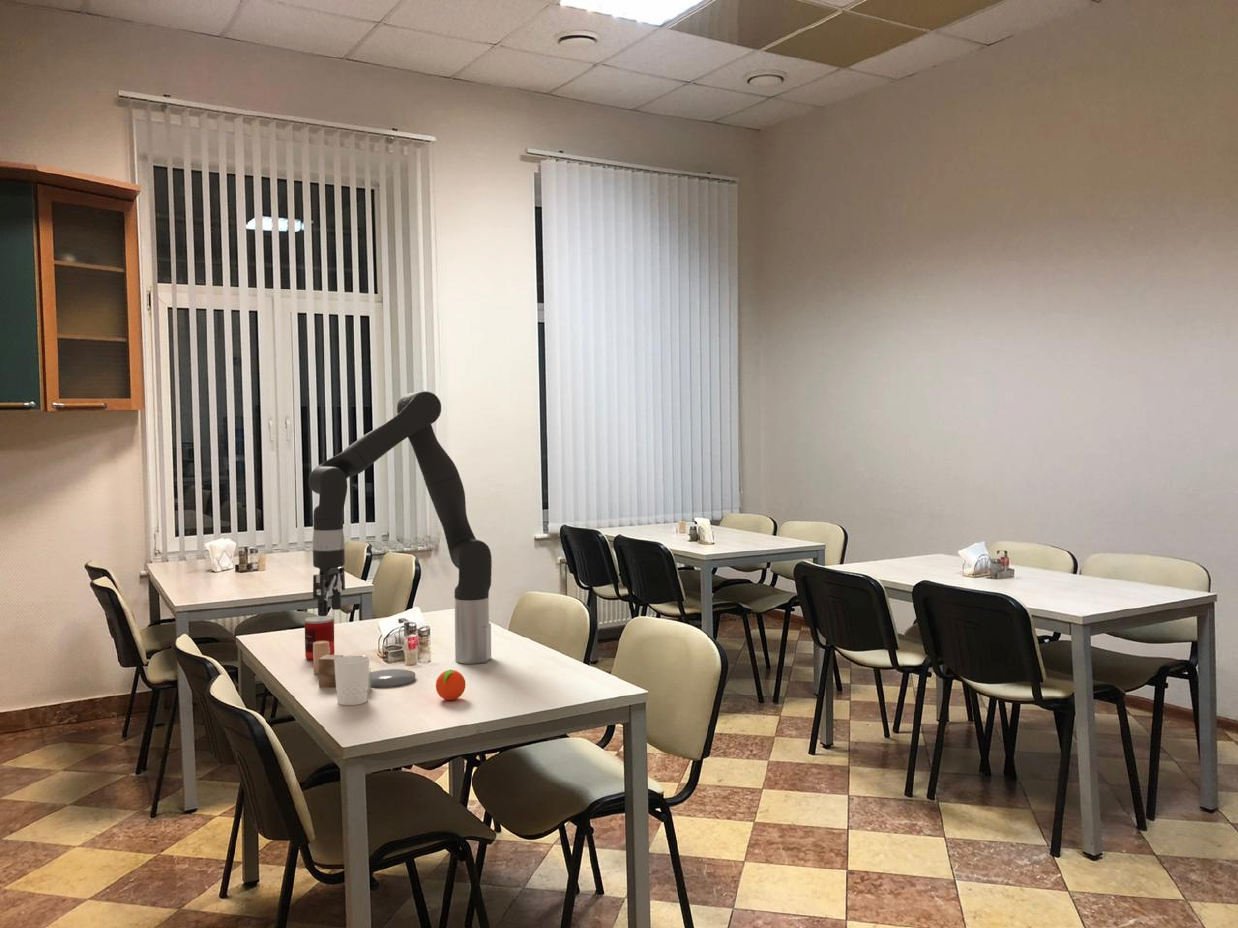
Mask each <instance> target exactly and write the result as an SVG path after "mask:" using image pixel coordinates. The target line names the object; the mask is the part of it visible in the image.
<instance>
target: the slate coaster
mask: <svg viewBox="0 0 1238 928" xmlns="http://www.w3.org/2000/svg"><path fill="white" fill-rule="evenodd" d="M415 681H416V673H415V672H414V671H413V670H408V669H401V668H400V669H399V668H397V669H395V668H391V669H389V668H387V669H380V670H379V669H378V670H375V671H371V688H372V687H373V688H395V687H401V686H406V685H409V684H411V683H413V682H415Z"/></svg>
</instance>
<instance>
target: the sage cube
mask: <svg viewBox="0 0 1238 928" xmlns="http://www.w3.org/2000/svg"><path fill="white" fill-rule="evenodd" d="M371 672H372V670H371V668H370V667H369V683H368V695H369V694H370V692H371V689H372V687H371Z"/></svg>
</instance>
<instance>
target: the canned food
mask: <svg viewBox="0 0 1238 928" xmlns="http://www.w3.org/2000/svg"><path fill="white" fill-rule="evenodd" d="M334 621H335V618H334V616H331V615H327V616H319V615H315V616H310V617H306V618H305V619H304V652H305V653H304V655H305V659H306V660H308V661H311V662H313V643H314V642H316V641H329V655H335V622H334Z"/></svg>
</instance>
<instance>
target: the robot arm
mask: <svg viewBox="0 0 1238 928" xmlns="http://www.w3.org/2000/svg"><path fill="white" fill-rule="evenodd" d="M441 412H442V403H441V400H440V398H439V397H438V395H436V394H435V393H433V392H431V391H428V390H426V391H425V390H420V391H416V392H409V393H406V394H404V395H402V396H401V397H400V398H399V400H398V401H397V407H396V413H397V414H396V415H395V416H394V417H393V418H390V419H389V420H388V421H386V422H385V423H383V424H381V425H380V426H378V427H377V428H376V427H375V428H374V429H373V430H371V431H369V432H367V433H366V434H364V435H362V436H361V437H360V438H358V439H357V440H356V441H354V442H352V444H350V445H349V446H348V447H346V448H345V449H343V450H342V451H341V452H340V453H338V454H337V455H335V456H332V457H331V458H329V459H327V460H326V461H323V462H322V463H320V464H319V465H317V466H316V467H315V468H314V469H313V470H312V471H311V472H310V474H309V476H308V480H307V481H308V482H307V484H308V486H309V488H310V489H311V491H312V492H313V493H315V494H317V495H319V503H318V505H317V506H316V507H315V508H314V510H313V533H312V566H313V567H314V568H315V569H319V574H313V576H312V598H313V600H316V601H317V616H329V611H328V610H329V609H328V607H329V605H328V598H329V595H330V594H331V609H332V610H333V611H338V610H341V609H342V594H343V591H346V590H345V589H346V583H345V581H346V580H345V579H346V578H345V577H346V576H345V567H344V566H345V564H346V563H345V562H346V556H345V551H346V550H345V547H346V546H345V545H346V543H345V534H344V507H345V503H346V498H347V494H348V478H350V477H352V476H356V475H359V474H361V473H362V472H364V471H365V470H366V469H368V468H369V467H370V466H371V465H373V464H374V463H375V462H377V461H378V460H379V459H380V458H381V457H383V456H384V455H385V454H387V453H388V452H389V451H390V450H392V449H393V448H394V447H396V446H397V445H399V444H400V443H401V442H403V441H404V440H406V439H407V438H408V440H409V442H410V444H411V448H413V449H412V450H413V452H414V455H415V459H416V461H417V464H418V466H419V468H420V469H419V470H420V471H421V474H422V476H423V480H424V483H425V487H426V489H427V491H428V494H429V497H430V500H431V502H432V504H433V507H434V510H435V512H436V515H437V517H438V519H439V521H440V524H441V527H442V530H443V533H444V536H445V537H444V538H445V541H446V545H447V549H448V554H449V556H450V560H451V562H452V564H453V565H454V567H455V568H457V569H458V584H457V586H455V588H454V641H455V642H454V656H455V657H454V658H455V659H454V660H455V662H456V663H458V664H467V665H468V664H471V665H472V664H473V665H475V664H481V663H488V662H489V660H490V659H491V658H492V625H491V623H490V612H489V610H490V609H489V608H490V606H489V605H490V601H489V599H490V598H489V597H490V596H489V595H490V589H491V586H492V569H493V568H492V563H493V562H492V553H491V549H490V547H489V545H488V544H487V543H485V542H484V541H482V540H479V539H477V538H476V536H475V534H474V532H473V530H472V528H471V526H470V525H471V524H470V523H469V519H468V516H467V506H466V492H465V488H464V485H463V480H462V478H461V476H460V473H459V471H458V468H457V466H456V464H455V463H454V461H453V460H452V458H451V457H450V456H449V454H448V453H447V452H446V451H445V449H444V448H443V446H441V444H440V442H439V441H438V439H437V437H436V434H435V432H434V428H433V425H432V424H434V423H435V422H436V421H437V420H438V419H439V417H440V415H441Z"/></svg>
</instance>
